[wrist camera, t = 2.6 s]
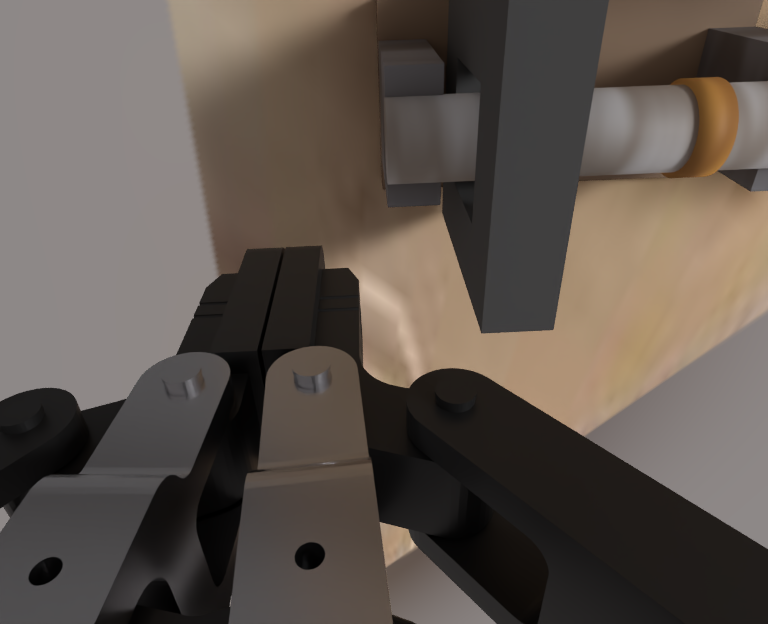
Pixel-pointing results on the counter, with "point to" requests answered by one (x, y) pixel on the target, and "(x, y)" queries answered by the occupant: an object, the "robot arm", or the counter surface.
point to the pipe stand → (609, 103)
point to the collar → (520, 149)
